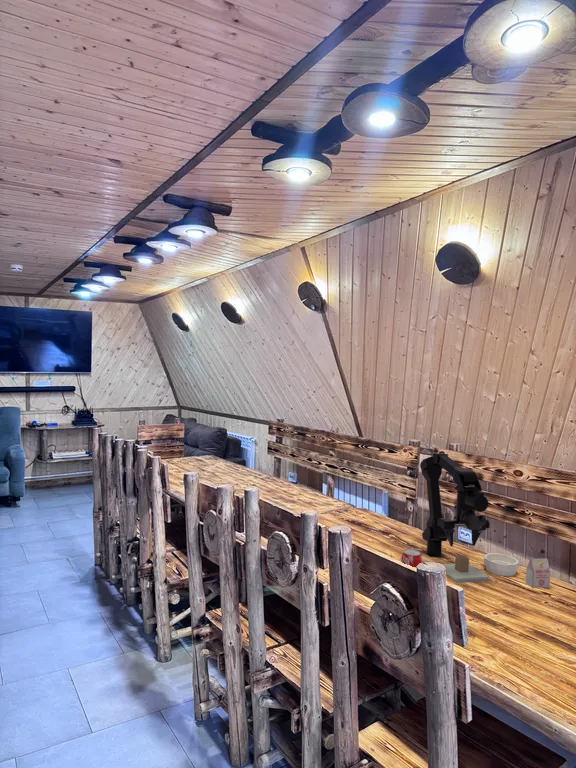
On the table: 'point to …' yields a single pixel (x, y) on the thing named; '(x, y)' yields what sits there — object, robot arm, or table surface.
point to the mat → (471, 580)
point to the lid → (463, 570)
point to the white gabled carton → (538, 573)
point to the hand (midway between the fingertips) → (462, 545)
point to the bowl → (501, 564)
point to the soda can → (411, 557)
